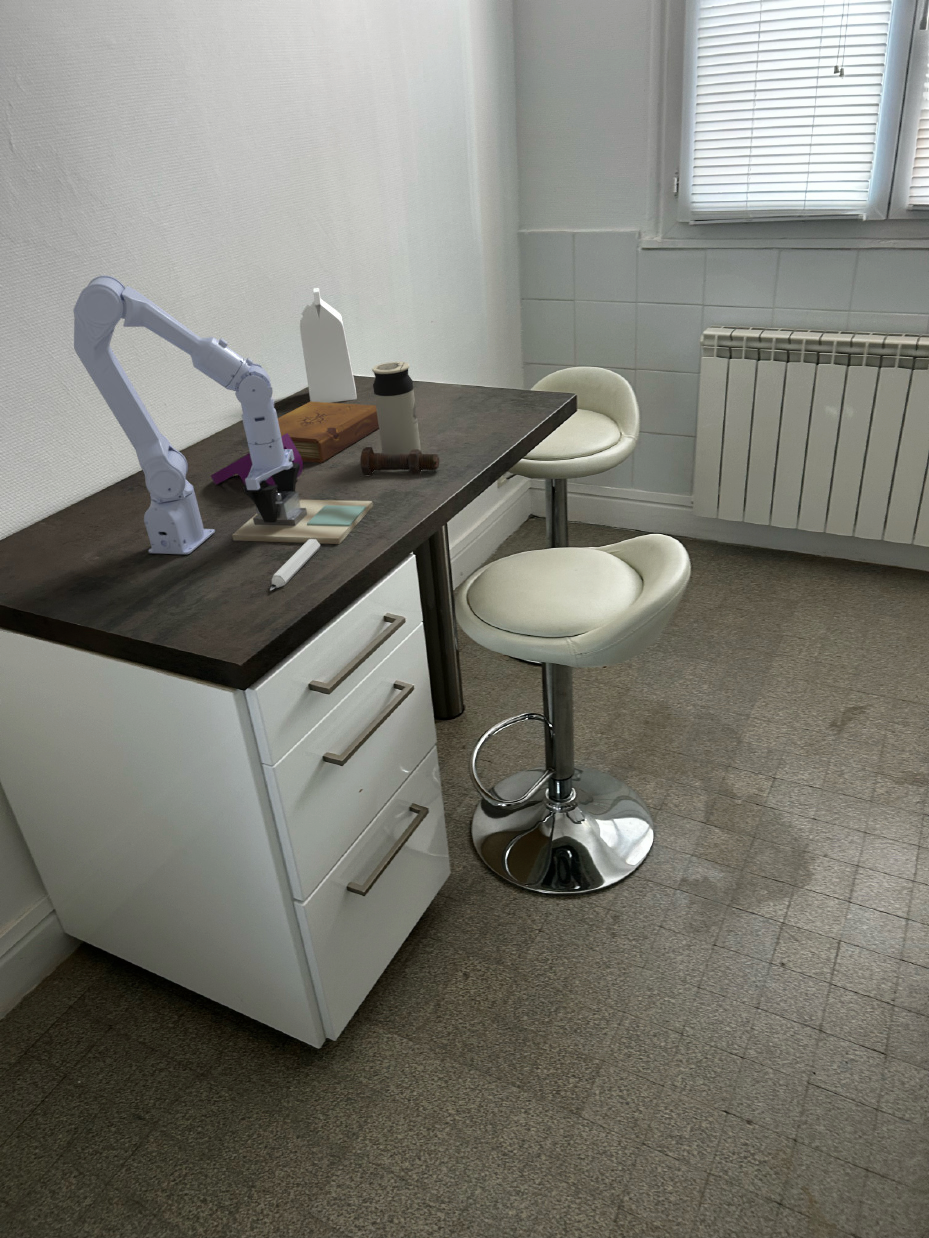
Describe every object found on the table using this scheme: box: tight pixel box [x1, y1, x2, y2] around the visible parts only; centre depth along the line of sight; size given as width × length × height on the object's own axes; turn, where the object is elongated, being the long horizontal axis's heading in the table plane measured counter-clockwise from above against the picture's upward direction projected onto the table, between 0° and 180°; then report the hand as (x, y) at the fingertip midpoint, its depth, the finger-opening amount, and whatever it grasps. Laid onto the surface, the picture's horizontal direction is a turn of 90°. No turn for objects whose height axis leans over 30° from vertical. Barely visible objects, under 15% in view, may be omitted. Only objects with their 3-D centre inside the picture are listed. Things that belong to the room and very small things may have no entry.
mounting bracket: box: [210, 433, 304, 486], centre depth 182 cm, size 9×8×18 cm
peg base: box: [253, 492, 307, 526], centre depth 161 cm, size 5×8×5 cm, turn 74°
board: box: [231, 499, 374, 545], centre depth 162 cm, size 16×20×1 cm
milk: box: [299, 287, 358, 403], centre depth 228 cm, size 12×12×26 cm
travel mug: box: [371, 361, 422, 454], centre depth 186 cm, size 8×8×18 cm
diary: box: [277, 401, 379, 464], centre depth 201 cm, size 23×19×6 cm
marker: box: [269, 539, 321, 591], centre depth 146 cm, size 3×2×16 cm
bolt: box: [360, 446, 440, 476], centre depth 180 cm, size 6×5×15 cm
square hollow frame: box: [254, 490, 301, 520], centre depth 161 cm, size 6×6×3 cm
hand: (279, 513), depth 162 cm, fingers open, 7 cm apart
